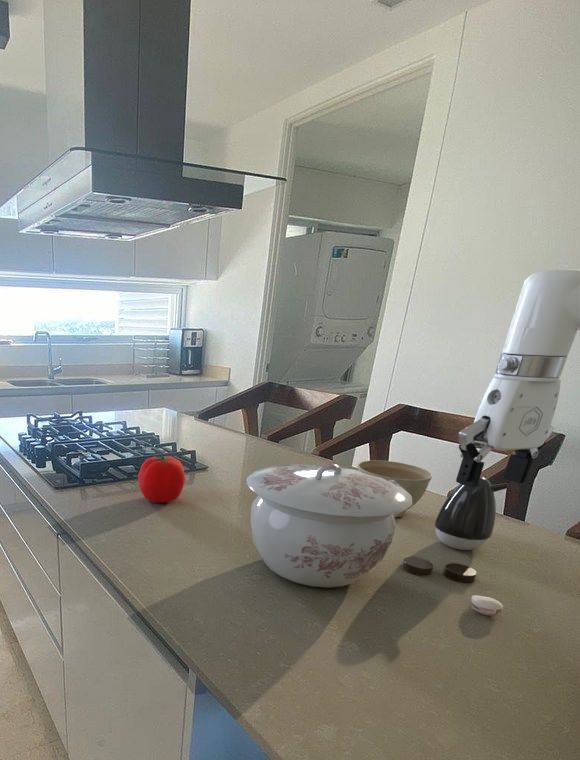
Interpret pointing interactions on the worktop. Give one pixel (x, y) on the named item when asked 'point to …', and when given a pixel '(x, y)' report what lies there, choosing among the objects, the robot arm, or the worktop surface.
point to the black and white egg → (468, 515)
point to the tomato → (161, 479)
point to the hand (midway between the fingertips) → (489, 482)
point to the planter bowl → (400, 476)
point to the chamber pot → (323, 521)
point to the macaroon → (486, 605)
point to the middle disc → (459, 572)
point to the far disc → (417, 566)
